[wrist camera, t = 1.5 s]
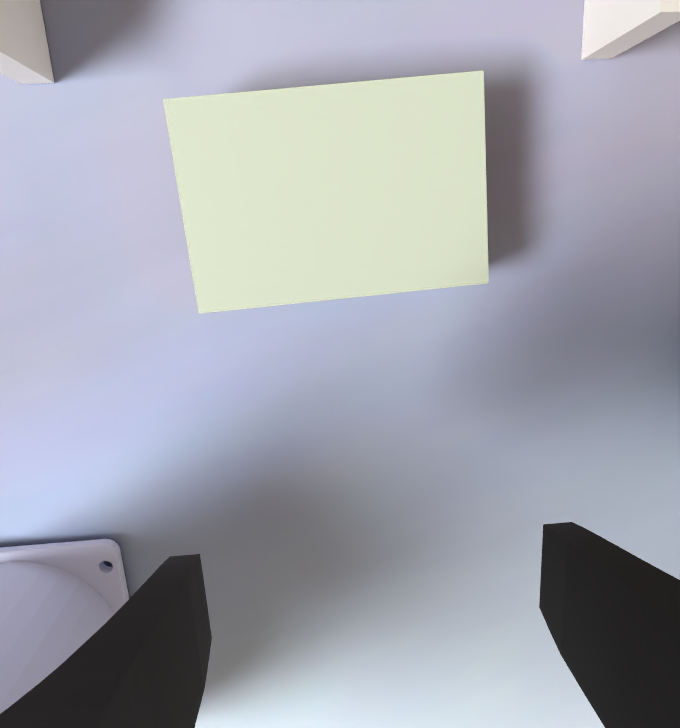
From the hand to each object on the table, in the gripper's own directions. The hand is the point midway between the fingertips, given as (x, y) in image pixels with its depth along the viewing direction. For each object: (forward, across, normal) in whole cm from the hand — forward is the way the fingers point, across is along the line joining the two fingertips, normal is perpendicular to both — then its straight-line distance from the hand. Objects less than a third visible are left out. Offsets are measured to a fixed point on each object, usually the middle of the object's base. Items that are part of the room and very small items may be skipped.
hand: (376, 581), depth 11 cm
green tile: (+10, 0, -8) cm, 13 cm away
